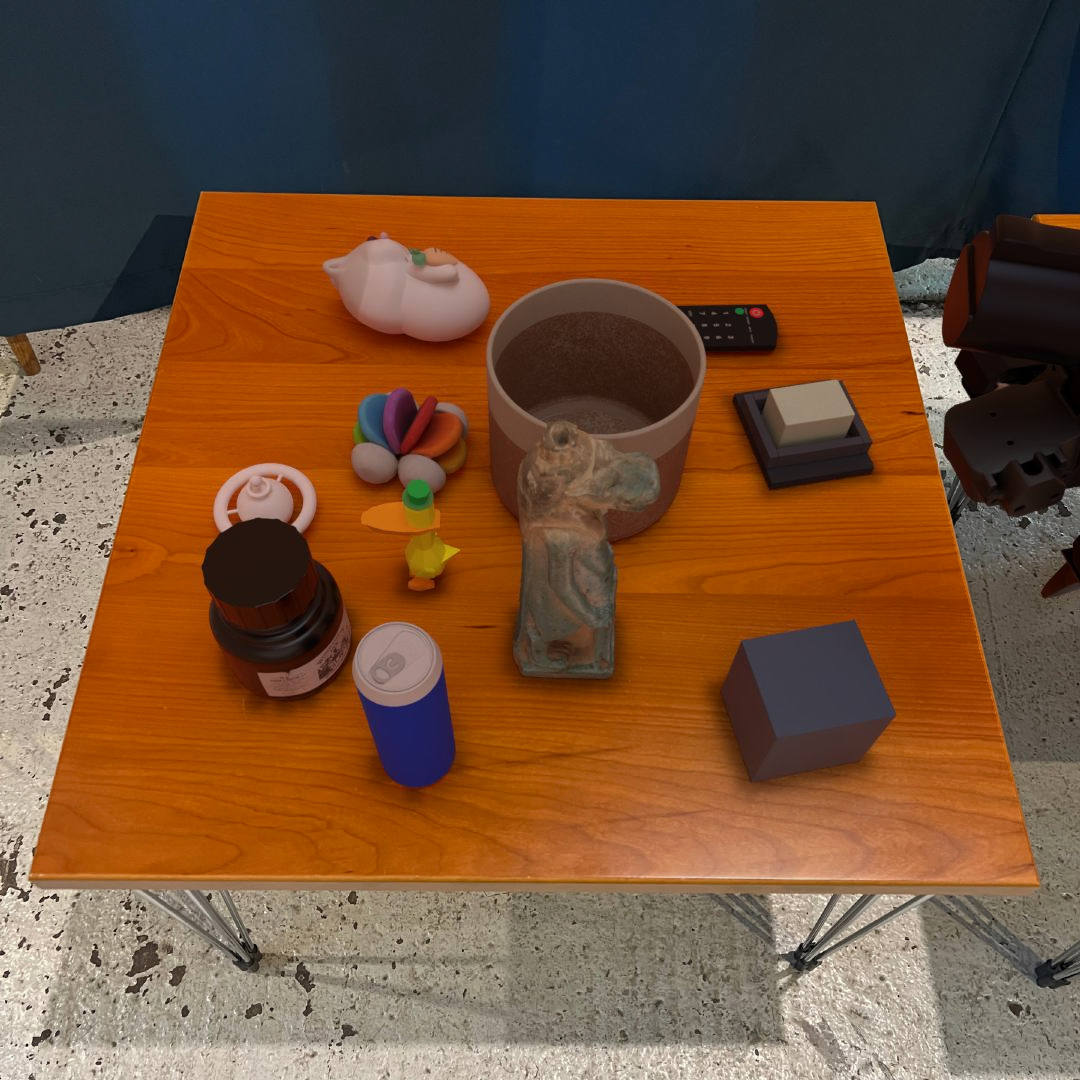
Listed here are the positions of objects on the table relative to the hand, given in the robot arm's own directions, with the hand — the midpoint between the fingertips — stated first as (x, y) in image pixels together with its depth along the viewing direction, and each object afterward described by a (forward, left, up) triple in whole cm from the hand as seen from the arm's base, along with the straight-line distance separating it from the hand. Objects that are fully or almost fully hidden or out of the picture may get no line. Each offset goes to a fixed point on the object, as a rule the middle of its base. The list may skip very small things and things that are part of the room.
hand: (1014, 534), depth 63 cm
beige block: (+4, -20, -12) cm, 24 cm away
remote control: (+14, -34, -13) cm, 39 cm away
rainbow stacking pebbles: (+37, -24, -13) cm, 46 cm away
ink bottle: (+48, -8, -13) cm, 50 cm away
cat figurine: (+35, -40, -13) cm, 55 cm away
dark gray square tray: (+4, -20, -13) cm, 24 cm away
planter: (+23, -20, -13) cm, 33 cm away
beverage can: (+40, +2, -13) cm, 42 cm away
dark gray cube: (+14, +5, -13) cm, 20 cm away
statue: (+28, -4, -13) cm, 31 cm away
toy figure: (+38, -12, -13) cm, 42 cm away
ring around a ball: (+49, -20, -13) cm, 55 cm away
